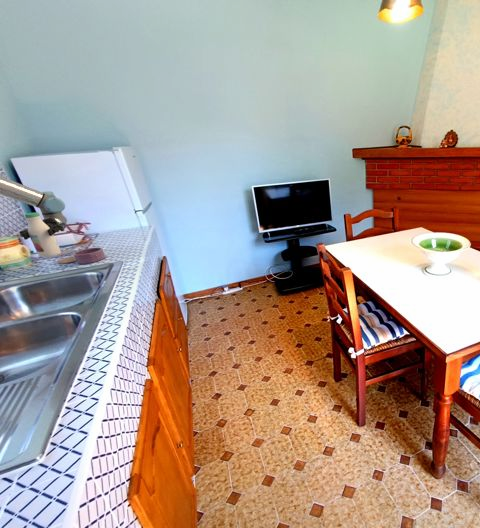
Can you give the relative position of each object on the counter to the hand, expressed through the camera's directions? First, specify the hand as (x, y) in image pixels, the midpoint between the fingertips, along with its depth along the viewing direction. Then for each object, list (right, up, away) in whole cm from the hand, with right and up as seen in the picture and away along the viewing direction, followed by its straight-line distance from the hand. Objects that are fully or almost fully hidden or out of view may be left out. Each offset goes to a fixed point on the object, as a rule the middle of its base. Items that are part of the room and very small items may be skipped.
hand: (37, 234), depth 133 cm
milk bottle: (-2, -9, +8) cm, 12 cm away
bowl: (+8, -11, +19) cm, 24 cm away
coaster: (-4, -11, +22) cm, 25 cm away
